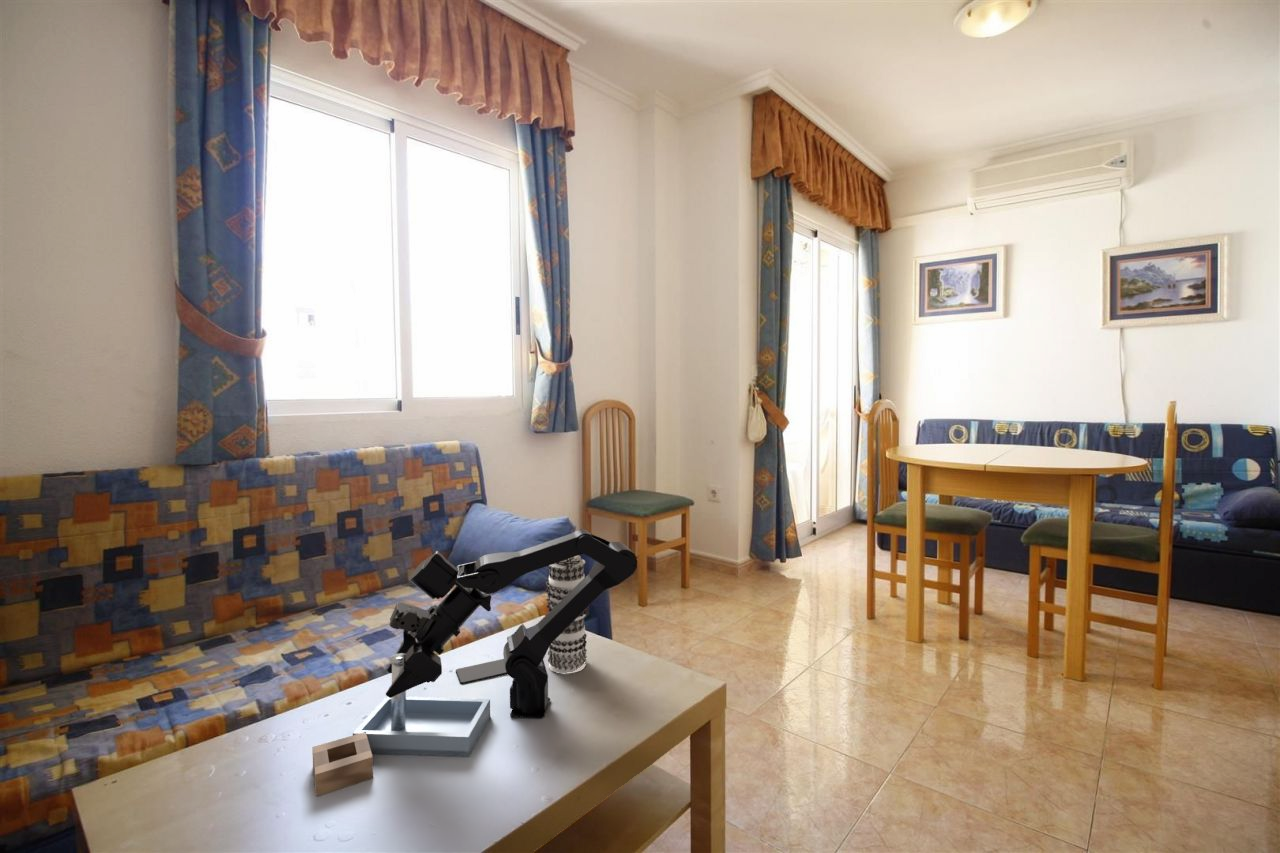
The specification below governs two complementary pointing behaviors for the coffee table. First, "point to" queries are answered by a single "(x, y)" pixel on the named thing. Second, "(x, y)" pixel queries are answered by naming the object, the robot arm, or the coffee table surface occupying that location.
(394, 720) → the metal pin
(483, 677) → the smartphone
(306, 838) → the coffee table surface
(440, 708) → the tray
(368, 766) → the pin block
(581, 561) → the decorative candle
